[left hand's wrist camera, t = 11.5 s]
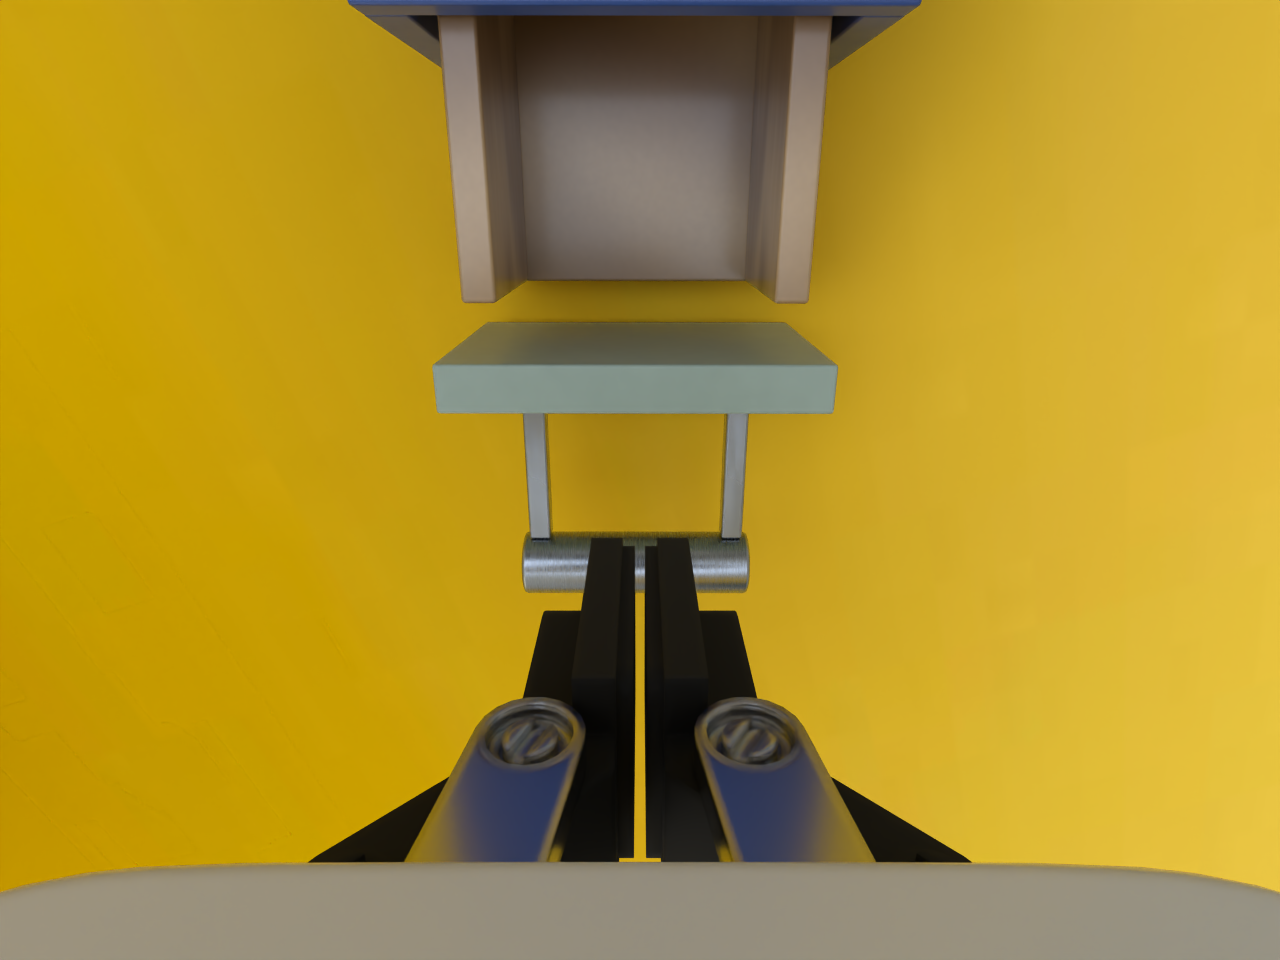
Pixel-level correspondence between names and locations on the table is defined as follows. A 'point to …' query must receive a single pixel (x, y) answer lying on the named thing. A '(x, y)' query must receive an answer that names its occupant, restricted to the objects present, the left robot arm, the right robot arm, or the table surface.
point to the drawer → (635, 235)
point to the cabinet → (856, 4)
